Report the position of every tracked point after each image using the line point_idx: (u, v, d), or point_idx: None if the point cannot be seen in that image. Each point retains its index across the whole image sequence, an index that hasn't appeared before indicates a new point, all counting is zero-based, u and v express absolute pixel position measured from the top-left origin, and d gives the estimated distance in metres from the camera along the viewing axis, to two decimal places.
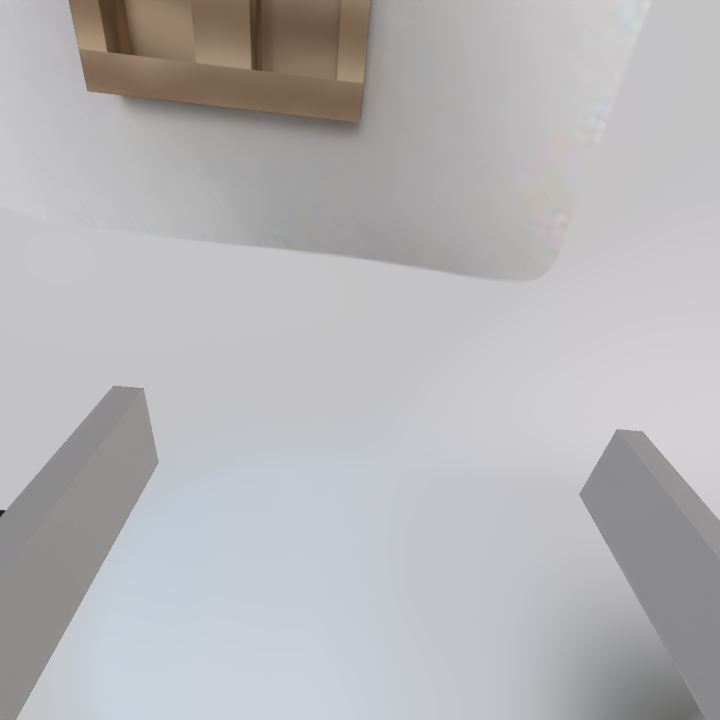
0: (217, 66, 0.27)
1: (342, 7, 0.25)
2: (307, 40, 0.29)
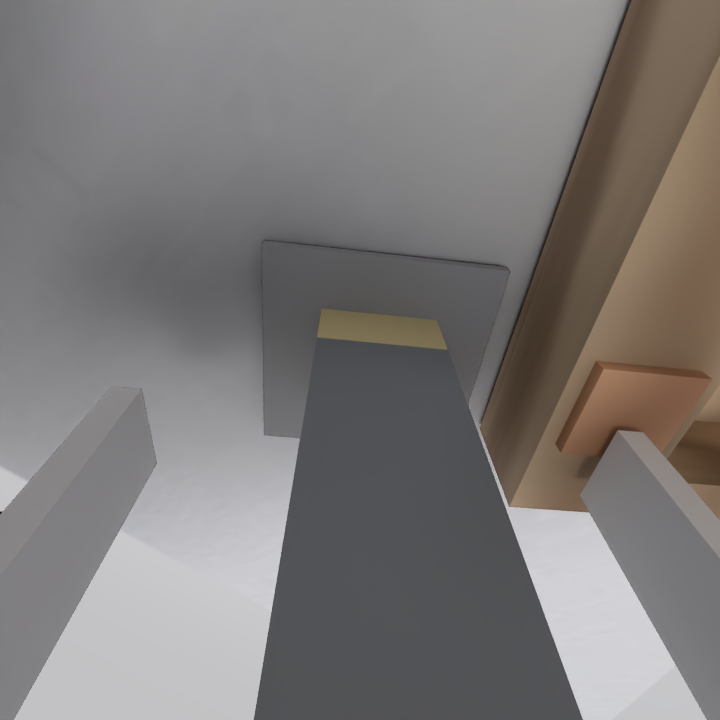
0: None
1: None
2: None
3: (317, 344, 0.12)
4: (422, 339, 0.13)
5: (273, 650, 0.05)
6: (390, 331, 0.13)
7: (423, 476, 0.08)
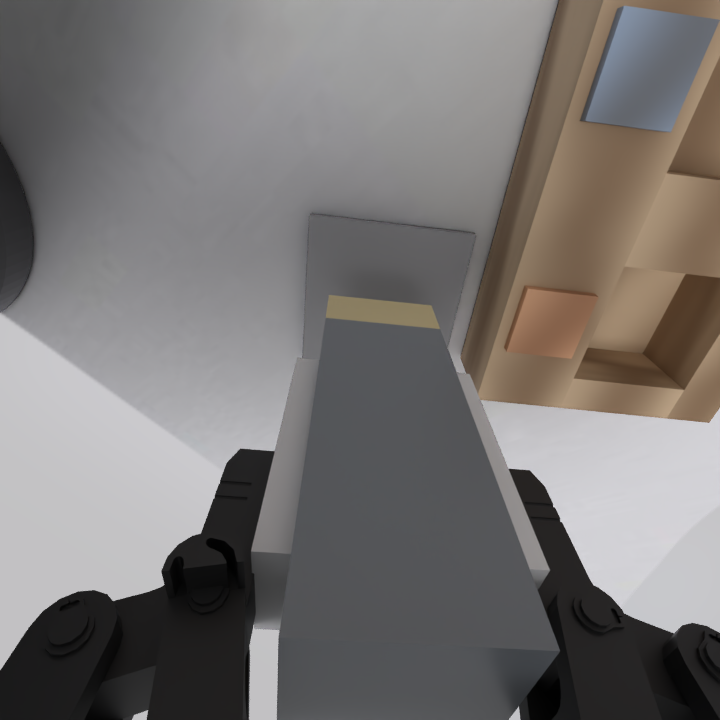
0: None
1: None
2: None
3: (326, 323, 0.14)
4: (417, 320, 0.15)
5: (300, 531, 0.07)
6: (390, 314, 0.15)
7: (416, 422, 0.10)
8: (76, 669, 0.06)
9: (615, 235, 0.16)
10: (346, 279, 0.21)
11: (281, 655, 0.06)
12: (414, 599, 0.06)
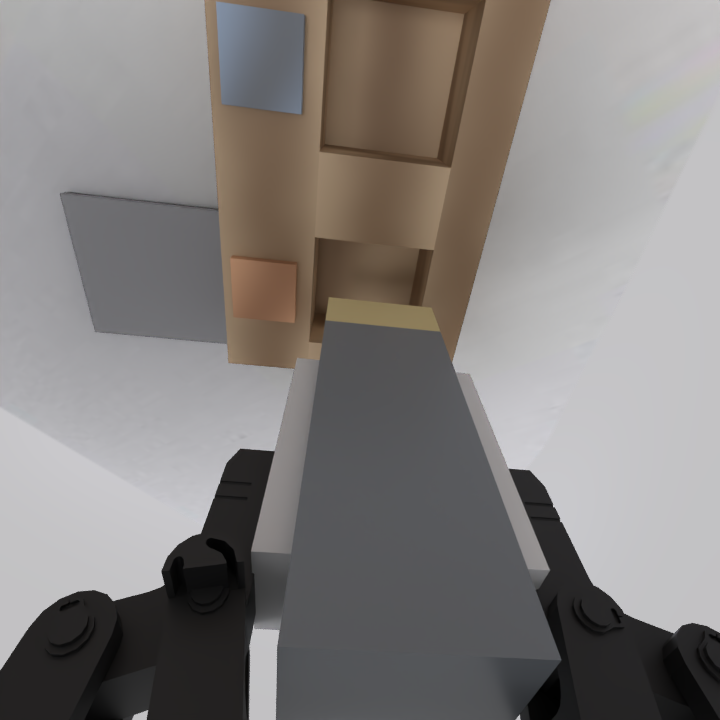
0: (441, 220, 0.18)
1: None
2: (403, 74, 0.18)
3: (326, 326, 0.14)
4: (418, 323, 0.15)
5: (299, 537, 0.07)
6: (390, 316, 0.15)
7: (416, 426, 0.10)
8: (76, 669, 0.06)
9: (296, 208, 0.18)
10: (112, 254, 0.23)
11: (280, 664, 0.06)
12: (414, 607, 0.06)
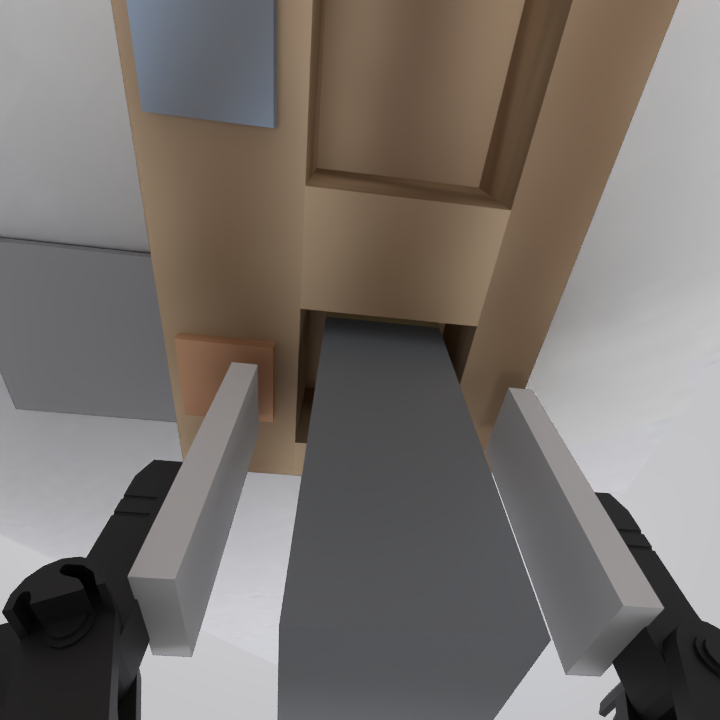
0: (490, 286, 0.12)
1: None
2: (435, 65, 0.12)
3: (326, 322, 0.14)
4: None
5: (300, 524, 0.07)
6: None
7: (414, 419, 0.10)
8: None
9: (271, 269, 0.12)
10: (27, 314, 0.17)
11: (282, 643, 0.06)
12: (410, 590, 0.07)
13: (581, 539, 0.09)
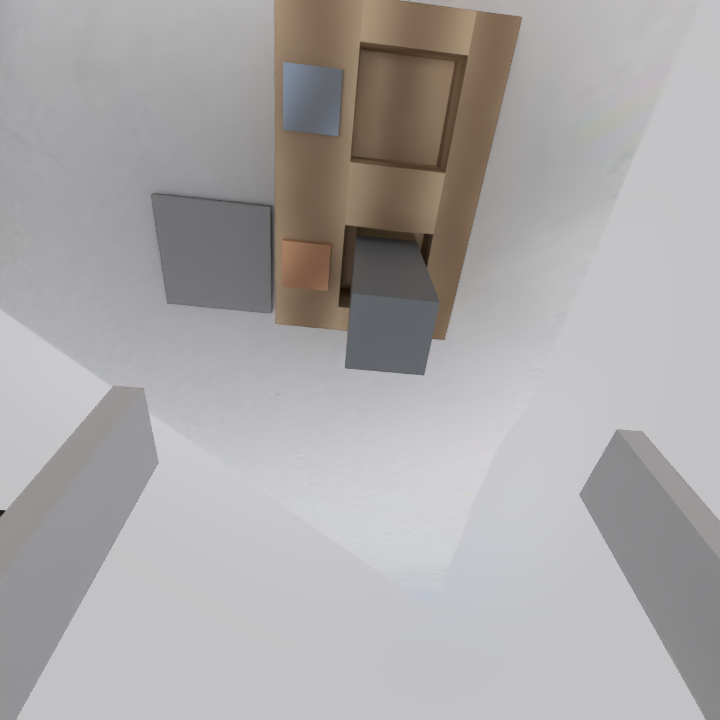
0: (438, 211, 0.25)
1: (396, 43, 0.21)
2: (411, 104, 0.25)
3: (356, 236, 0.27)
4: (404, 237, 0.28)
5: (355, 281, 0.20)
6: (390, 235, 0.28)
7: (399, 264, 0.23)
8: None
9: (331, 203, 0.25)
10: (186, 241, 0.30)
11: (352, 303, 0.19)
12: (394, 292, 0.19)
13: None
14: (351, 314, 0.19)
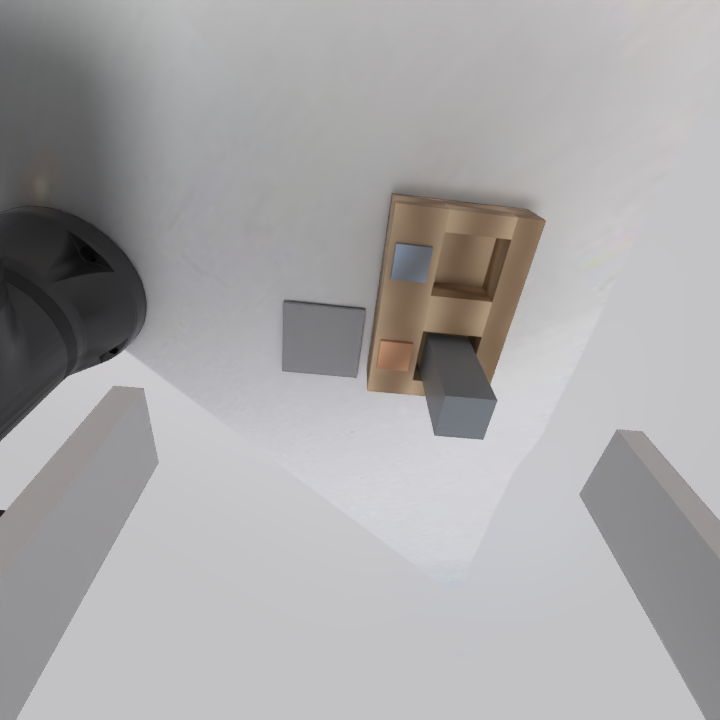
0: (486, 324, 0.37)
1: (467, 233, 0.33)
2: (468, 251, 0.37)
3: (428, 335, 0.39)
4: None
5: (442, 383, 0.33)
6: None
7: (464, 364, 0.35)
8: None
9: (415, 318, 0.37)
10: (303, 331, 0.42)
11: (444, 401, 0.31)
12: (469, 393, 0.32)
13: None
14: (443, 406, 0.32)
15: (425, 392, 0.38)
